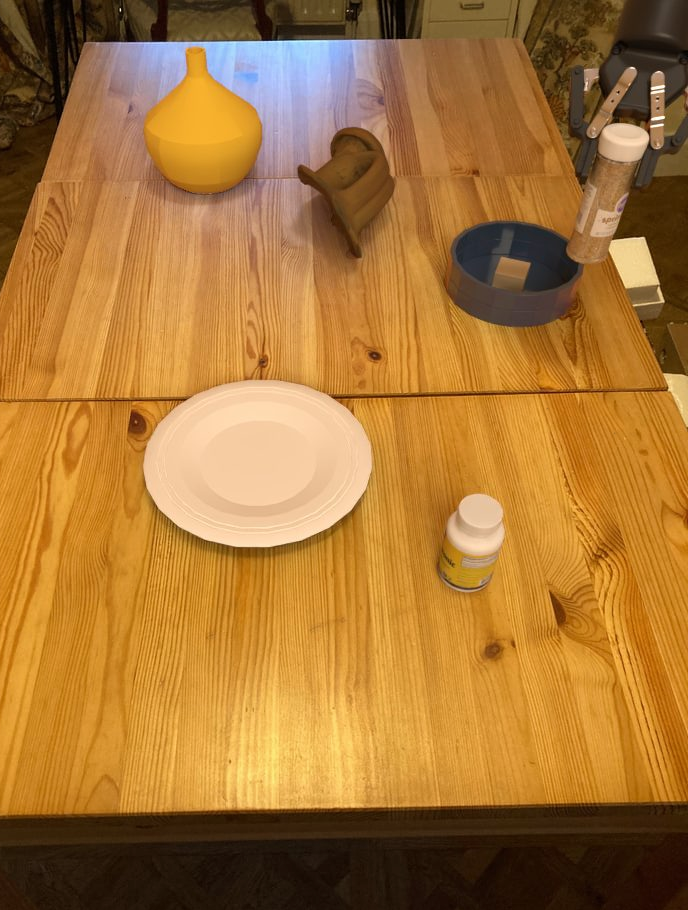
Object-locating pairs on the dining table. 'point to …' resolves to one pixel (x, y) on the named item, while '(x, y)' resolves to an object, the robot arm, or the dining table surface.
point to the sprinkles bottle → (606, 191)
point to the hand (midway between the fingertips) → (609, 186)
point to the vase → (203, 132)
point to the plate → (257, 463)
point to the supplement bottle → (472, 543)
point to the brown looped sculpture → (353, 182)
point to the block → (511, 274)
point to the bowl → (528, 242)
